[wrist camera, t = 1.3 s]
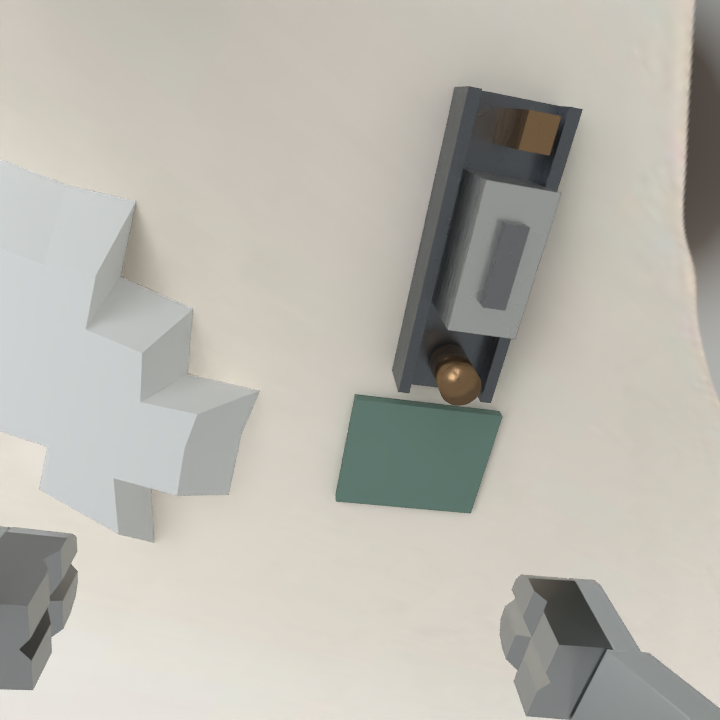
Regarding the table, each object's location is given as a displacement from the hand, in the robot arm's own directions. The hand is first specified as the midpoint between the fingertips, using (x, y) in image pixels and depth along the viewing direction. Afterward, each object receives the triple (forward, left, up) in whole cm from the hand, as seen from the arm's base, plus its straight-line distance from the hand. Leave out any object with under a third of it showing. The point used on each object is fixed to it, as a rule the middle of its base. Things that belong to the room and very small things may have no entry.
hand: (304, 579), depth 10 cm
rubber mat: (+17, +11, -31) cm, 37 cm away
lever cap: (-1, +11, -29) cm, 31 cm away
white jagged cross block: (+12, -15, -32) cm, 37 cm away
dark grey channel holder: (0, +11, -31) cm, 33 cm away
